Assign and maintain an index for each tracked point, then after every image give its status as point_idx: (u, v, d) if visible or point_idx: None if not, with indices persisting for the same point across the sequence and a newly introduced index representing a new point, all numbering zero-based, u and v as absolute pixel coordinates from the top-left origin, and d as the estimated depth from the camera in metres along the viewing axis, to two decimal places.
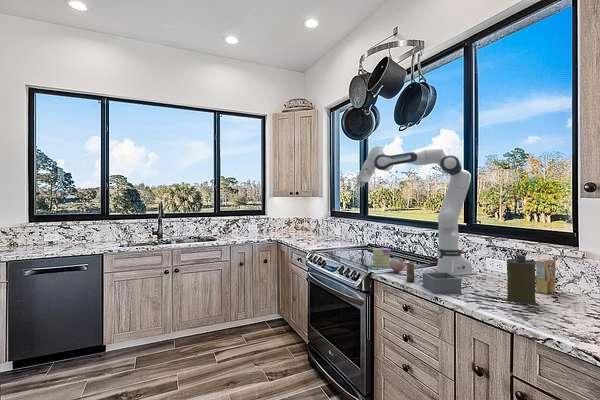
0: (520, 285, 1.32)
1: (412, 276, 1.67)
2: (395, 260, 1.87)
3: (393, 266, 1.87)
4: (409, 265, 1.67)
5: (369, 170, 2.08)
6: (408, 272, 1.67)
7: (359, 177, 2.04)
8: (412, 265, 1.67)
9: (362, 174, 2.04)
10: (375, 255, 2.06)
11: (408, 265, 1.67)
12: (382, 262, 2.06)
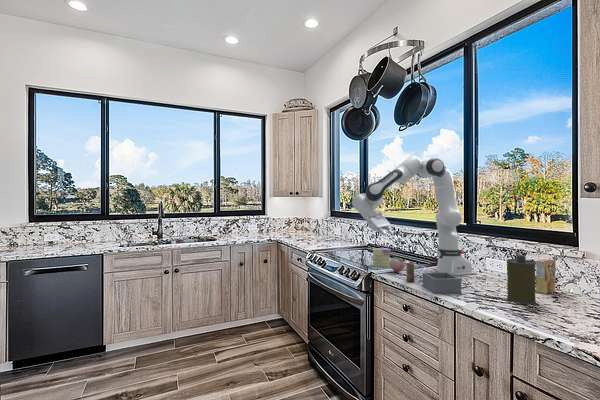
0: (520, 285, 1.32)
1: (412, 276, 1.67)
2: (395, 260, 1.87)
3: (393, 266, 1.87)
4: (409, 265, 1.67)
5: (372, 214, 1.78)
6: (408, 272, 1.67)
7: (373, 226, 1.71)
8: (412, 265, 1.67)
9: (371, 222, 1.72)
10: (375, 255, 2.06)
11: (408, 265, 1.67)
12: (382, 262, 2.06)
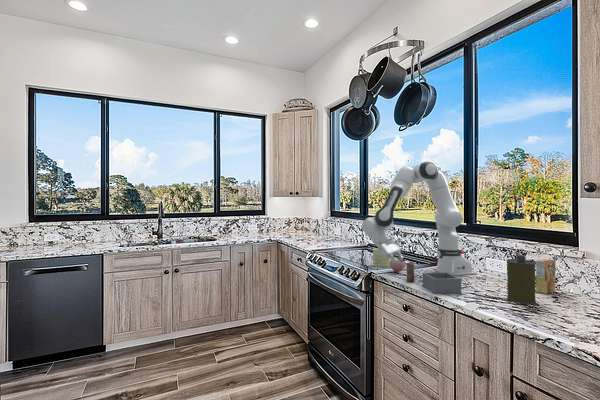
0: (520, 285, 1.32)
1: (412, 276, 1.67)
2: None
3: (393, 266, 1.87)
4: (409, 265, 1.67)
5: (383, 240, 1.74)
6: (408, 272, 1.67)
7: (384, 253, 1.67)
8: (412, 265, 1.67)
9: (382, 249, 1.68)
10: (375, 255, 2.06)
11: (408, 265, 1.67)
12: (382, 262, 2.06)
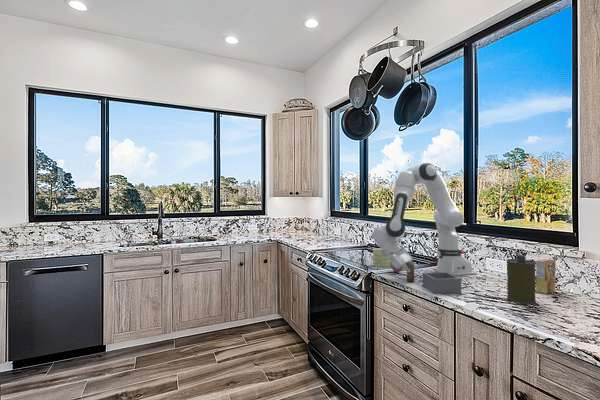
0: (520, 285, 1.32)
1: (412, 276, 1.67)
2: None
3: (393, 266, 1.87)
4: (409, 265, 1.67)
5: (395, 250, 1.70)
6: None
7: (396, 264, 1.63)
8: (412, 265, 1.67)
9: (394, 259, 1.64)
10: (375, 255, 2.06)
11: (408, 265, 1.67)
12: (382, 262, 2.06)
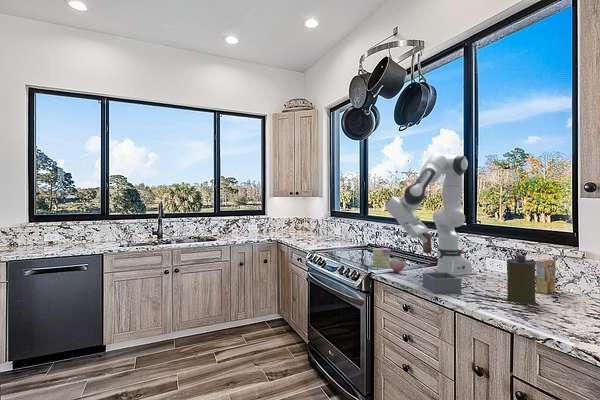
0: (520, 285, 1.32)
1: (429, 246, 1.57)
2: (395, 260, 1.87)
3: (393, 266, 1.87)
4: (426, 235, 1.58)
5: (410, 220, 1.61)
6: None
7: (412, 233, 1.54)
8: (429, 235, 1.57)
9: (410, 228, 1.55)
10: (375, 255, 2.06)
11: (425, 235, 1.58)
12: (382, 262, 2.06)
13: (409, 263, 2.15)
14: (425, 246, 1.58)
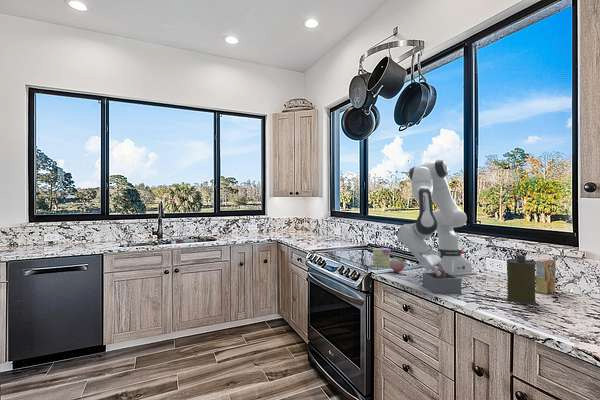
0: (520, 285, 1.32)
1: None
2: (395, 260, 1.87)
3: (393, 266, 1.87)
4: None
5: (423, 250, 1.54)
6: None
7: (427, 266, 1.47)
8: (443, 272, 1.51)
9: (424, 260, 1.48)
10: (375, 255, 2.06)
11: None
12: (382, 262, 2.06)
13: (409, 263, 2.15)
14: None
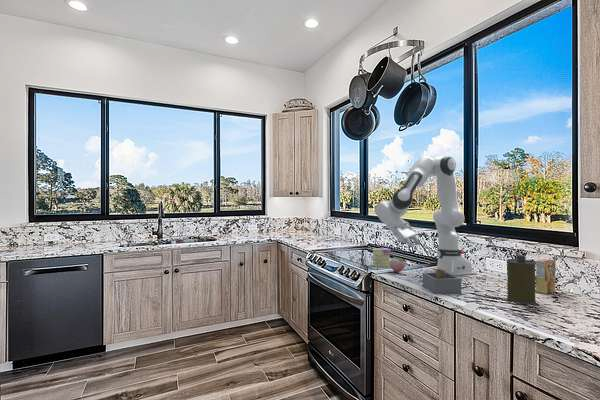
0: (520, 285, 1.32)
1: None
2: (395, 260, 1.87)
3: (393, 266, 1.87)
4: (440, 272, 1.51)
5: (398, 224, 1.62)
6: None
7: (400, 238, 1.55)
8: (443, 272, 1.51)
9: (398, 233, 1.56)
10: (375, 255, 2.06)
11: (439, 272, 1.52)
12: (382, 262, 2.06)
13: (409, 263, 2.15)
14: None
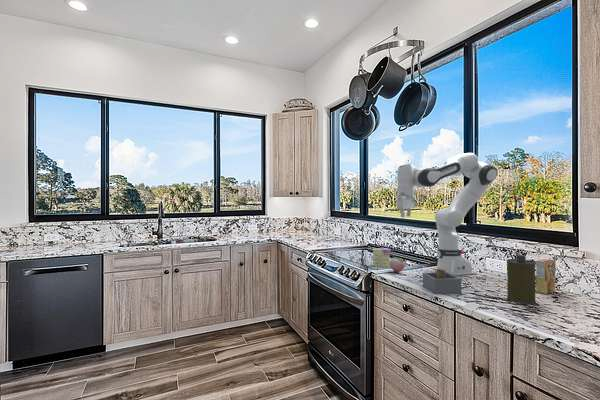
0: (520, 285, 1.32)
1: None
2: (395, 260, 1.87)
3: (393, 266, 1.87)
4: (440, 272, 1.51)
5: (407, 193, 1.70)
6: None
7: (399, 205, 1.67)
8: (443, 272, 1.51)
9: (401, 201, 1.66)
10: (375, 255, 2.06)
11: (439, 272, 1.52)
12: (382, 262, 2.06)
13: (409, 263, 2.15)
14: None
